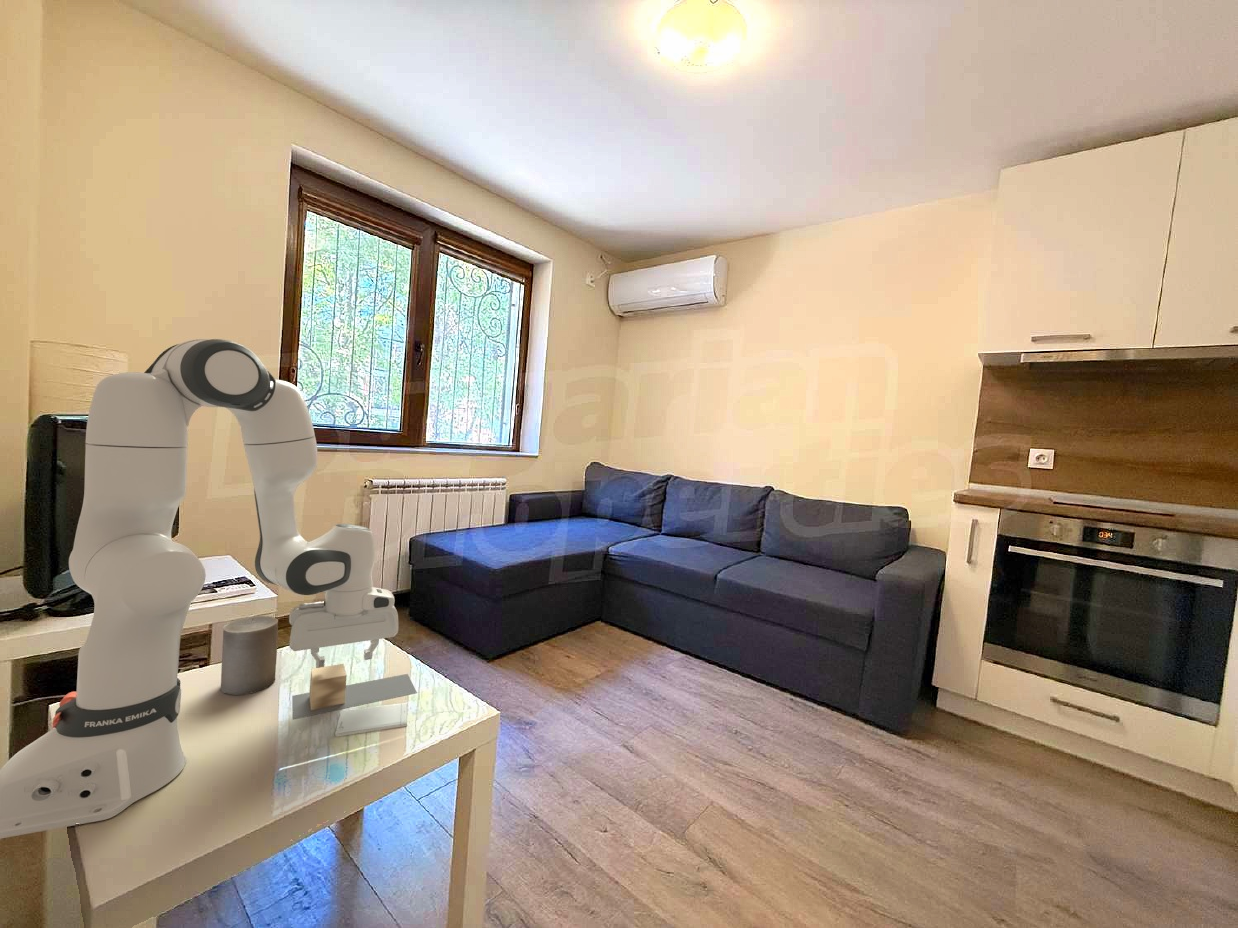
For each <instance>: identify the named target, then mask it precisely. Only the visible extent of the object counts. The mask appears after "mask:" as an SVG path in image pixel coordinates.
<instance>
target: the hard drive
mask: <svg viewBox="0 0 1238 928" xmlns="http://www.w3.org/2000/svg"><path fill="white" fill-rule="evenodd" d="M407 726H408V702H401V703H391V704H381V705H375V706H368V707H359V708H352V709H342V710H340V712H339V717H338V721H337V724H336V729H335V733H334V737H342V736H349V735H356V734H361V733H369V732H375V731H382V730H387V729H389V730H390V729H395V728H401V727H407Z"/></svg>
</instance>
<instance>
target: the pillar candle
mask: <svg viewBox="0 0 1238 928" xmlns="http://www.w3.org/2000/svg"><path fill="white" fill-rule="evenodd" d="M278 628H279V619H278V618H276V617H274V616H269V615H258V616H248V617H243V618H240V619H236V620H233V621H231V622H228V623H227V624H224V626H222V630H223V631H222V649H221V653H222V654H221V669H220V670H221V674H220V675H221V676H220V677H221V678H220V691H221V693H223V694H227V695H234V696H240V695H241V696H243V695H248V694H253V693H255V692H258V691H262V690H264V689H266V688H269V686H271V685H272V684H274V683H275V681H276V672H277V671H276V670H277V655H278V634H279V633H278V632H279V630H278Z"/></svg>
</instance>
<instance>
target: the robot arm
mask: <svg viewBox="0 0 1238 928" xmlns="http://www.w3.org/2000/svg"><path fill="white" fill-rule="evenodd" d="M201 407H205V408H226V410H229V411H230V413H232V414H233V416H234V417H235V419H236V421H237V422H238V425H239V426H240V432H241V437H242V442H243V447H244V451H245V456H246V460H247V464H248V467H249V470H250V475H251V480H252V485H253V492H254V502H255V508H256V516H257V524H258V529H259V542H258V548H257V551H256V554H255V559H254V567H255V571H256V574H257V575H258V577H259V578H260V579H261V580H263V582H264V581H265V582H266V583H268V584H271V585H276V586H279V587H281V588H283V589H285V590H287V591H290V592H292V593H294V594H297V595H302V596H312V595H317V594H319V593H320V594H321V593H323V592H325V595H324V601H317V602H316V601H315V602H310V603H309V602H308V603H306V602H305V603H299V604H298V605H297V606H294V607H293V608H292V609H291V610H290V612H289V616H288V622H289V624H290V626H291V629H290V630H291V631H290V635H289V636H290V637H289V648H290V650H292V651H293V652H299V651H305V650H310V655H311V656H312V657H313V658H314V659H313V660H315V668H321V667H325V662H326V657H325V656H324V655H322V656H320V654H319V652H320V648H327V647H334V646H342V645H346V644H354V643H360V642H361V643H362V642H369V641H370V643H371V644H370V645H369V647H368V649H364V650H363V659H364V661H369V660H372V659H373V652H375V650H376V648H378V645H379V643H380V640H381V639H391V638H394V637H395V636H396V635H397V634H398V633H399V614H398V611H397V609H396V607H395V596H394V594H393V593H392V592H391V591H390V590H389V589H385V588H380V587H375V586H374V582H373V577H372V575H373V574H372V573H373V569H374V568H375V567H374V566H375V557H376V554H375V553H376V542H375V536H374V533H373V531H372V530H371V529H370V528H368V527H366V526H363V525H356V524H350V523H339V524H335V525H333V526H332V528H331V529H330V530H328V531H327V532H325V533H324V534H323V535H321V536H319V537H317V538H315V539H313V540H311V541H307V540H306V539H304V538H303V536H302V535H301V533H300V532H299V529H298V524H297V514H296V507H295V493H296V490H297V489H298V487H299V486H300V485H301V484H302V483H304V482H306V481H307V480H309V478H310V477H311V476H312V475H313V474H315V472H316V469H317V468H318V455H319V454H318V444H317V440H316V439H317V438H316V436H315V435H316V434H315V430H314V425H313V422H312V418H311V414H310V412H309V411H310V410H309V409H308V406H307V402H306V401H305V398H304V396H303V394H302V391H301V390H300V389H299V388H298V387H297V386H296V385H295V384H293V383H291V382H288V381H287V380H282V379H277V378H275V377H274V376H273V375H272V374H271V373H270V371H269V370H268V369H267V368H266V366H265V365H264V363H263V362H262V360H260V358H259V357H258V356H257V355H256V354H255V353H254V352H253V351H252V350H251V349H249V348H248V347H246V346H244V345H242V344H240V343H238V342H235V341H232V340H228V339H224V338H223V339H221V338H214V339H206V338H205V339H204V338H200V339H199V338H198V339H197V338H196V339H192V340H188V341H184V342H181V343H177V344H174V345H172V346H170V347H168V348H167V349H165V350H164V351H162V353H160V354H159V355H158V357H157V358H156V359H155V360H154V361H153V362H152V364H151V365H150V366H149V367H148V368H147V369H146V370H145V371H144V372H136V371H131V372H129V371H127V372H119V373H115V374H111V375H108V376H106V377H104V378H102V379H101V380H100V381H99V382H98V383H97V385H96V387H95V390H94V393H93V395H92V400H91V403H90V405H89V412H88V417H87V421H86V431H85V455H84V460H85V461H84V489H83V491H84V494H83V502H82V507H81V511H80V514H79V518H78V523H77V527H76V531H75V537H74V541H73V547H72V551H70V554H69V557H68V568H69V574H70V576H71V578H72V581H73V582H74V584H75V585H76V586H77V587H79V588H80V589H81V590H83V591H84V592H86V593H88V594H89V595H90V596H91V597H92V599H93V603H94V610H93V616H92V620H91V624H90V627H89V630H88V634H87V636H86V639H85V642H84V643H83V644H82V645H81V647H80V648H79V650H78V657H77V659H78V660H77V679H76V691H71V692H68V693H67V694H66V695H64V696H63V698H62V699H61V700H60V702H59V706H58V708H57V709H56V710H55V713H54V717H53V718H52V729H51V730H49V731H47V732H45V734H43V735H42V736H40V737H38V738H37V739H36V740H34V741H33V742H31V743H30V744H29V743H28V745H26V746H25V747H23V748H22V749H20V750H19V751H18V752H17V753H15V754H14V755H13V756H12V757H11V758H9V759H8V760H7V762H6V763H5V764H4V765H3V766H2V767H1V768H0V840H1V839H5V838H11V837H16V836H23V835H30V834H33V833H39V832H46V831H49V830H56V829H61V828H67V827H71V826H76V825H75V824H76V823H81V824H80V825H82V824H84V825H85V824H91V823H94V822H100V821H104V820H105V821H106V820H108V819H111V818H113V817H114V816H116V815H119V814H120V813H121V812H123V811H124V810H125V809H127V808H128V807H129V806H131V805H132V804H133V803H135V802H137V801H139V800H141V799H142V798H144V797H147V796H149V795H150V794H152V793H154V792H156V791H157V790H160V789H161V788H162V787H164V786H165V785H168V783H170V782H171V781H172V780H174V779H175V778H176V777H177V776H178V775H179V774H180V773H181V772H182V770H184V767H185V766H186V762H187V761H186V757H185V754H184V752H183V749H182V745H181V741H180V735H179V734H180V733H179V730H178V729H179V728H178V716H179V714H180V711H181V701H182V688H181V680H180V678H178V674H179V673H178V672H179V660H180V647H181V646H180V644H181V636H182V631H183V628H184V625H185V622H186V619H187V615H188V612H189V609H190V606H191V603H192V602H193V601H194V600H195V599H196V598H197V596H198V595H200V593H201V591H202V589H203V587H204V585H205V582H206V569H205V566H204V565H203V563H202V560H200V558H198V556H197V555H196V553H194V552H193V551H192V550H191V549H190V548H189V547H188V546H186V545H184V544H182V543H179V542H176V541H175V540H174V541H173V538H172V530H173V526H174V525H173V524H174V521H175V518H176V514H177V512H178V508H179V506H180V504H181V503H182V501H183V500H184V499H185V497H186V495H187V484H188V482H187V479H188V478H187V477H188V448H189V447H188V442H189V441H188V440H189V438H188V437H189V434H188V427H189V426H190V421H191V419H192V416H193V415H194V413H195V412H196V411H198V409H200V408H201Z"/></svg>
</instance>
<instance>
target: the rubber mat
mask: <svg viewBox="0 0 1238 928" xmlns="http://www.w3.org/2000/svg"><path fill="white" fill-rule="evenodd" d="M417 693H418V692H417V690H416V688H415V685H414V684H413V682H412V679H411V678H410V675H409V674H408V673H405V674H400V675H394V676H390V677H389V676H387V677H384V678H378V679H374V680H368V681H363V682H359V683H357V682H356V683H353V684H346V692H345V703H343V704H339V705H334V706H329V707H325V708H320V709H315V710H311V707H310V699H309V694H310V691H309V692H305V693H301V694H299V693H298V694H295V695H294V694H293V695H292V720H294V721H295V720H297V719H302V718H307V717H311V716H315V715H321V714H322V715H323V714H326V713H330V712H334V711H339V710H340V711H341V710H346V709H348V708H353V707H358V706H363V705H367V704H372V703H377V702H381V701H382V702H383V701H386V700H390V699H395V698H401V697H404V696H409V695H414V694H417Z"/></svg>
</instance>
